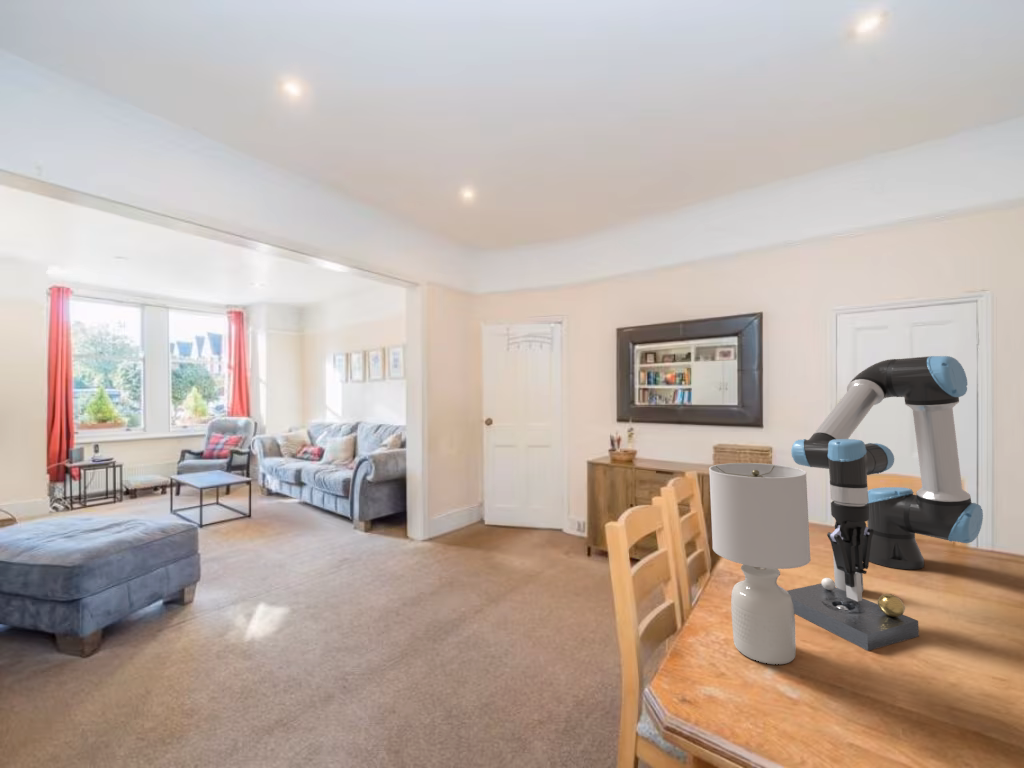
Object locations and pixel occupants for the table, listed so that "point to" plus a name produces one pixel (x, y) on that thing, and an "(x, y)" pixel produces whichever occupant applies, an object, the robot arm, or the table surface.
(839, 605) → the steel ball
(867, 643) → the plate
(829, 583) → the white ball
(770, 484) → the lamp
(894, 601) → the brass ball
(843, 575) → the beverage can
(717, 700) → the table surface
